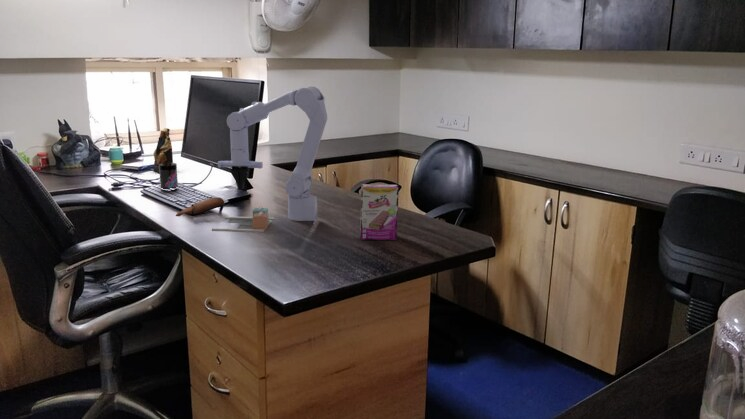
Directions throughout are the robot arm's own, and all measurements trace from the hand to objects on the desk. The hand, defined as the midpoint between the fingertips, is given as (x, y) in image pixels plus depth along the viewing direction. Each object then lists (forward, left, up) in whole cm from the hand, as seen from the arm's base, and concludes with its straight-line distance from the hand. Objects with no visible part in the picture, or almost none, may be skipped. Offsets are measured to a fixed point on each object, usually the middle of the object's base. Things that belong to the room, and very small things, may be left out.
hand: (241, 189), depth 205 cm
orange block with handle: (-10, +16, -8) cm, 20 cm away
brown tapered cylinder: (+17, -7, -11) cm, 21 cm away
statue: (+56, -75, -10) cm, 94 cm away
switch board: (-4, +13, -10) cm, 17 cm away
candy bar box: (-47, +19, -10) cm, 52 cm away
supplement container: (+40, -39, -10) cm, 57 cm away
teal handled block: (-8, +9, -9) cm, 15 cm away
